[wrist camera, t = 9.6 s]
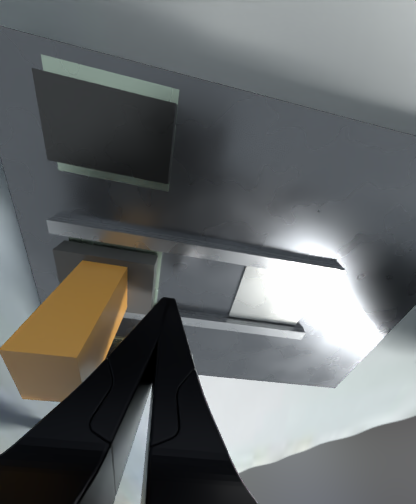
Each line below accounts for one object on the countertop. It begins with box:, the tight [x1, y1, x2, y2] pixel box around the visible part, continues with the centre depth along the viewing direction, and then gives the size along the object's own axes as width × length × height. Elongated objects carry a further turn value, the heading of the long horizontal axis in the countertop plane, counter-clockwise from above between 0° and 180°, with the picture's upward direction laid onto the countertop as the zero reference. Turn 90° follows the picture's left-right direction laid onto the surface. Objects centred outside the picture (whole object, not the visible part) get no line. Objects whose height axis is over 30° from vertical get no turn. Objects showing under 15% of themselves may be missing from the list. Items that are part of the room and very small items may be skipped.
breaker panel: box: [0, 26, 416, 388], centre depth 10 cm, size 20×16×5 cm
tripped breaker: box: [0, 240, 158, 402], centre depth 8 cm, size 4×3×5 cm
